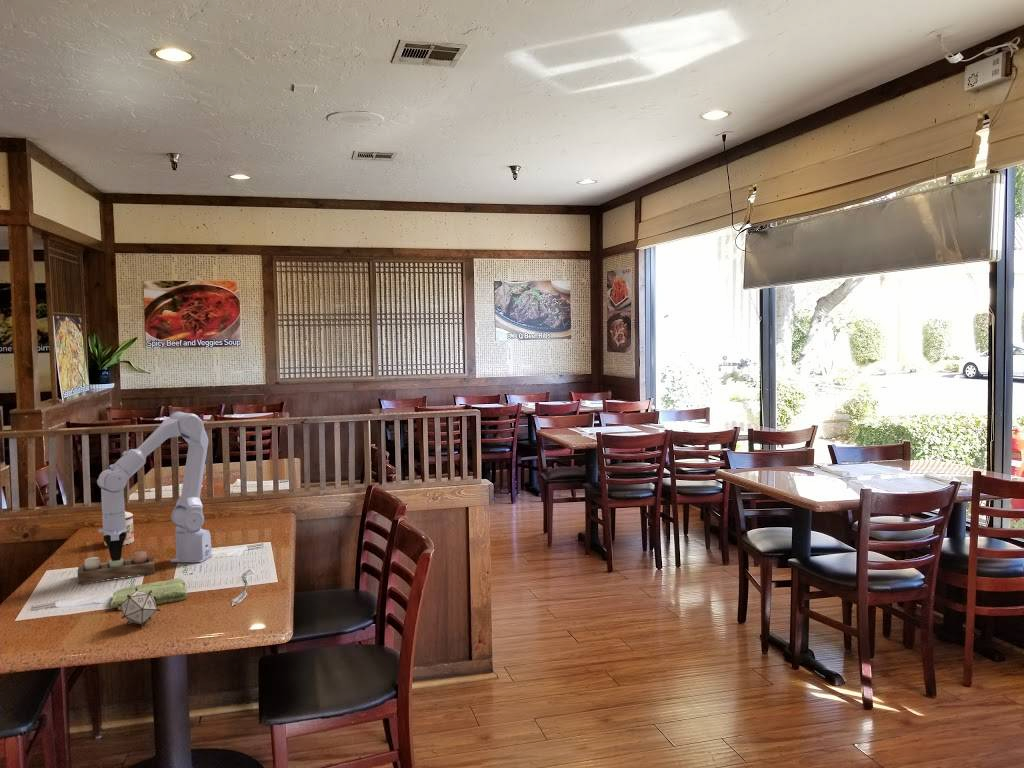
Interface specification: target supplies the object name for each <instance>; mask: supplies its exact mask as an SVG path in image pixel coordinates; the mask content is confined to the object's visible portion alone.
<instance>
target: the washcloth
mask: <svg viewBox="0 0 1024 768" xmlns="http://www.w3.org/2000/svg"><path fill="white" fill-rule="evenodd" d="M135 588H138V590H137V591H141V592H147V593H149V592H150V591H151V590H152V592H151V593H150V594H151V595H152V597H153V598H154V597H156V599H154V600H155V603H156V604H158V605H161V604H160V603H164V604H167V602H168V603H174V601H175V602H181V601H184V600H185V599H187V597H188V592H187V589H186V582H185V580H184V579H182V578H180V577H175V578H171V579H168V580H164V581H163V580H161V581H155V582H148V583H143V584H138V585H131V586H127V587H126V586H125V587H122V588H119V589H117V590H116V591H114V592H113V594H112V597H111V599H110V600H111V602H110V607H111V608H114V609H115V608H117V610H121V609H122V607H121V606H118V605H117V604H122V603H123V602H124V601H125V600H126V599H127V598H128V597H127V595H130V596H131V595H132V594H133V593H134V592H135V591H136V590H135ZM121 611H122V610H121Z"/></svg>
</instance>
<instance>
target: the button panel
mask: <svg viewBox="0 0 1024 768" xmlns="http://www.w3.org/2000/svg"><path fill="white" fill-rule="evenodd" d="M123 563H124V566H118V567H110V568H109V561H106V562H99V565H100V567H99V568H97V569H93V570H86V569H85V564H83V565H78V567H77V584H79V585H85V584H84V583H86V584H92V583H91V582H93V583H97V582H96V581H100V582H103V581H102V580H107V579H114V578H121V577H128V576H135V577H138V576H137V575H142V576H148V575H147V574H149V575H153V574H156V573H155V561H154V556H153V555H151V556H150V555H149V556H147V561H146V562H143V563H133V558H126V559H123ZM145 574H146V575H145ZM128 578H129V577H128ZM121 579H122V578H121ZM114 580H115V579H114ZM107 581H108V580H107Z"/></svg>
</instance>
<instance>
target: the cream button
mask: <svg viewBox="0 0 1024 768" xmlns="http://www.w3.org/2000/svg"><path fill="white" fill-rule="evenodd" d="M99 563H100V557H97V556H92V557H87V558H85V559H84V565H85V569H86V570H93V569H97V568H99V567H100V565H99Z"/></svg>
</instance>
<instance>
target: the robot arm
mask: <svg viewBox="0 0 1024 768" xmlns="http://www.w3.org/2000/svg"><path fill="white" fill-rule="evenodd" d="M204 425H205V423H204V421H203V420H202V418H200V417H199V416H198V415H197V414H195V413H188V412H183V411H175V412H173V413H171V414H170V415H169V417H167V418H165V419H164V420H163V421H162V422H161V424H160V425H159V426H158V427H156V429H155V430H154V431H153V432H152V433H151V434H150V435H149V436H148V437H147V438H146V439H145V440H144V441H143V442H142V443H141V444H140V445H139V446H138V447H137V448H134V449H133V448H131V449H129V450H128V451H127V450H124V451H123V452H122V453H121V454H122V456H121V457H120V458H119V459H118V460H117V461H116V462H115V463H113V464H110V465H109V466H108V467H109V468H108V469H105V470H103V471H101V473H100V474H99V476H98V478H97V480H96V483H97V485H98V487H99V488H100V490H101V491H100V493H101V494H100V495H101V497H100V498H101V499H100V500H101V513H102V515H101V516H102V517H101V520H102V528H97V529H98V530H97V531H98V532H97V533H99V534H101V533H103V542H104V541H105V542H106V544H107V546H106V547H107V548H108V550H109V551H108V552H109V556H110V560H111V559H112V561H116V560H120V559H121V558H122V552H123V543H124V540H125V538H126V532H124V531H125V530H126V529H127V527H126V522H125V511H126V508H125V507H126V505H125V495H124V493H125V492H124V491H125V487H126V486H127V484H128V480H130V479H131V478H132V476H134V475H135V474H136V473H137V472H138V471H139V470H140V469H141V468H142V467H143V466H144V465H146V463H147V457H148V456H149V455H150V454H151V453H152V452H153V451H155V450H156V449H158V447H159V446H161V445H162V444H163V443H165V441H166V440H168V439H170V438H171V439H172V438H177V437H182V439H184V441H185V442H186V443H187V444H188V447H187V449H188V450H187V454H186V459H185V460H186V462H185V466H184V467H185V469H184V473H183V480H182V488H181V493H180V497H179V498H178V499H177V501H176V504H175V507H174V509H173V510H172V511H171V517H170V518H171V521H172V523H173V525H175V529H174V531H175V536H174V537H175V557H174V558H172V559H171V560H170V563H202V562H204V561H205V560H208V559H209V558H210V557H211V556H213V553H212V539H211V538H212V536H211V533H210V530H208V529H203V528H202V526H203V525H204V523H205V515H204V514H203V513H204V512H203V510H204V509H203V508H204V505H203V503H202V500H201V494H202V493H201V492H202V488H203V487H202V485H203V480H204V474H205V469H206V467H205V466H206V460H207V453H208V447H209V437H208V435H207V432H206V429H205V426H204ZM104 533H105V534H107V535H104Z"/></svg>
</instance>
